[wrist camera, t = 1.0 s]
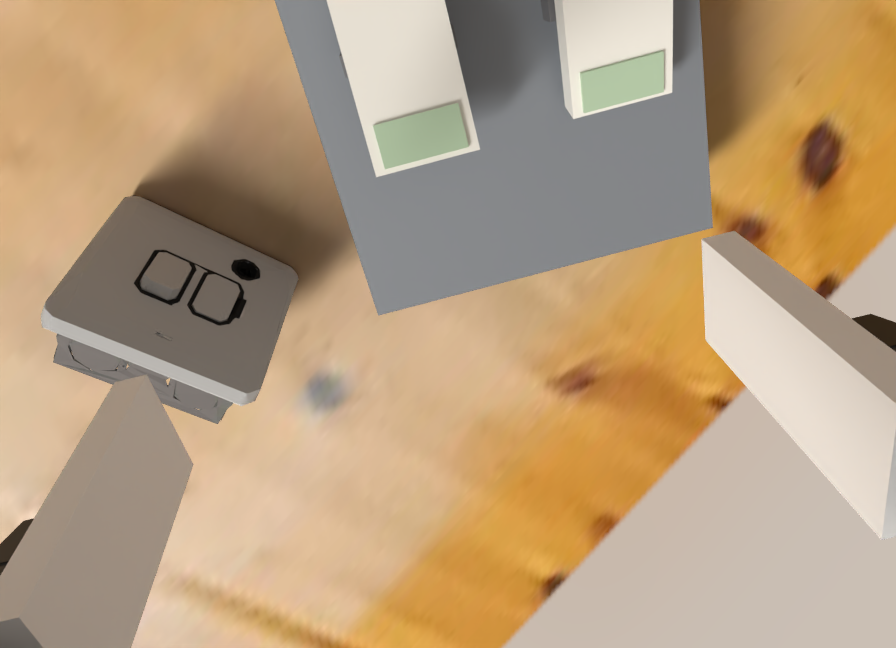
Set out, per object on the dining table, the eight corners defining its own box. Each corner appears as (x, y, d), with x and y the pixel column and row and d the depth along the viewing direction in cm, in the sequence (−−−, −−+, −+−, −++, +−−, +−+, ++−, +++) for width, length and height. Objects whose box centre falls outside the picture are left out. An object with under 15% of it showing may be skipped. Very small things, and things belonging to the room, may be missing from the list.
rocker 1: (316, -45, 25) (311, -55, 23) (423, -74, 25) (424, -86, 23) (378, 175, 27) (375, 177, 25) (477, 149, 27) (480, 149, 25)
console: (219, -232, 27) (173, -292, 21) (614, -344, 27) (690, -441, 20) (377, 265, 37) (378, 327, 31) (664, 190, 37) (724, 236, 31)
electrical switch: (303, 269, 37) (274, 370, 29) (266, 339, 39) (229, 450, 32) (130, 187, 34) (46, 275, 26) (100, 268, 37) (15, 370, 29)
